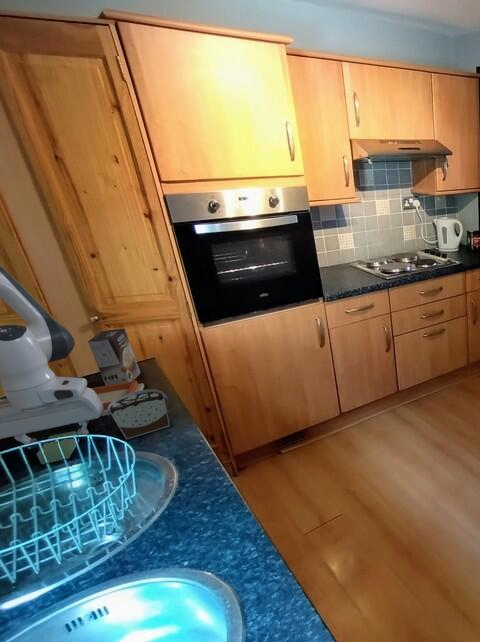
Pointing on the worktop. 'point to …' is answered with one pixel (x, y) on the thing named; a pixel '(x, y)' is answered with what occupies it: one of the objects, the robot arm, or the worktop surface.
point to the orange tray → (116, 392)
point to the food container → (140, 412)
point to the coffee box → (114, 356)
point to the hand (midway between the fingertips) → (59, 441)
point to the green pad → (53, 450)
